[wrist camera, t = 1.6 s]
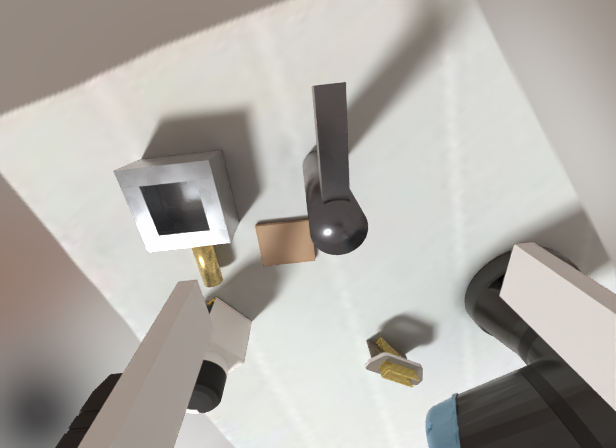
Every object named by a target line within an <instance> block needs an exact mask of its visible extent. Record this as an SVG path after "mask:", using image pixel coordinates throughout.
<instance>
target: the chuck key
mask: <svg viewBox="0 0 616 448" xmlns="http://www.w3.org/2000/svg"><path fill="white" fill-rule="evenodd" d="M312 94H313V106H314V118H315V130H316V142H317V151H313V152H311V153H309V154H308V155H307V156H306V158H305V159H304V162H303V174H304V183H305V193H306V202H307V212H308V221H309V230H310V237H311V240H312V242H313V243H314V245H315V246H316V247H317V248H318V249H319V250H321V251H323V252H325V253H327V254H332V255H342V254H346V253H349V252H351V251H353V250H355V249H356V248H358V247H359V246H360V245H361V244H362V243H363V241H364V240H365V238H366V235H367V232H368V222H367V219H366V216H365V215H364V213H363V211H362V209H361V208H360V206H359V204H358V203H357V201H356V199H355V197H354V196H353V194H352V192H351V190H350V189H349V161H348V132H347V102H346V82H343V83H334V84H325V85H316V86H312Z"/></svg>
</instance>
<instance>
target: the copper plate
mask: <svg viewBox="0 0 616 448" xmlns="http://www.w3.org/2000/svg"><path fill="white" fill-rule="evenodd" d="M255 228H256V233H257V238H258V242H259V247H260V252H261V256H262V261H263V266H271V265H280V264H289V263H298V262H307V261H315V252H314V243H313V242H312V240H311V237H310V230H309V221H308V219H301V220H292V221H283V222H274V223H265V224H256V226H255Z"/></svg>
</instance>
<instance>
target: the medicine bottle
mask: <svg viewBox="0 0 616 448" xmlns="http://www.w3.org/2000/svg"><path fill="white" fill-rule="evenodd" d="M206 306H207V309H208V312H209V314H210V317H211V320H212V323H213V325H214V330H213V333H212V336H211V339H210V342H209V344H208V347H207V350H206V353H205V356H204V359H203V362H202V365H201V368H200V371H199V374H198V377H197V380H196V383H195V386H194V389H193V392H192V395H191V398H190V401H189V404H188V407H187V410H186V412H187V413H193V414H199V413H206V412H209V411H211V410H213V409H214V408H215V407H217V406H218V405H219V403H220V402H221V399H222V394H223V390H224V386H225V382H226V378H227V375H228V374H229V373H230V372H232V371H233V370H234V369H236V368H237V367H239V366H240V365H241V364H243V363H244V361H245V356H246V350H247V345H248V340H249V334H250V329H251V324H252V322H251V321H250V320H249V319H247V318H246V317H245V316H243V315H242V314H240V313H239V312H237V311H236V310H234V309H233V308H231V307H230V306H229V305H227V304H226V303H224V302H223V301H221V300H220V299H218V298H217V297H215V298H213V299H212V300H211V301H210V302H209V303H207V304H206Z"/></svg>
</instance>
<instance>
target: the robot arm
mask: <svg viewBox="0 0 616 448" xmlns="http://www.w3.org/2000/svg"><path fill="white" fill-rule="evenodd" d="M465 307H466V310H467V312H468V314H469V315H470V317H471V318H472V319H473V321H474V322H475V323H476V324H477V325H478V327H480V328H481V329H482V330H483V331H484V332H486V333H488V334H489V335H492V336H494V337H495V338H496V339H498V340H499V341H500V342H502V343H503V344H504V345H506V346H507V347H508V348H510V349H511V350H512V351H514V352H515V353H517V354H518V355H519V356H520V358H521V359H522V360H523V361H524V362H525V363H526V364H527V366H525V367H523V368H520V369H518V370H515V371H513V372H511V373H508V374H506V375H503V376H501V377H499V378H496V379H494V380H491V381H489V382H487V383H484V384H482V385H480V386H477V387H475V388H472V389H470V390H468V391H465V392H463V393H460V394H458V393H455V394H453V395H452V397H451V398H449V399H447V400H445V401H443V402H441V403H439V404H437V405H435V406H433V407H432V408H431V409H430V410H429V411H428V413H427V416H426V435H427V441H428V446H429V448H616V294H615V293H613V292H611V291H610V290H608V289H607V288H605V287H604V286H602V285H600V284H599V283H597V282H596V281H594V280H592V279H591V278H589V277H588V276H586V275H584V274H583V273H581V271H580V270H579V269H578V267H577V266H576V265H575V264H574V263H573V262H572V261H570V260H569V259H567V258H566V257H564V256H562V255H561V254H559V253H557V252H556V251H554V250H551V249H548V248H543V247H540V246H538V245H537V244H535V243H534V242H528V243H519V244H514V247H513V250H512V251H511V252H509V253H506V254H504V255H502V256H500V257H498V258H496V259H495V260H493V261H492V262H490V263H489V264H487V265H486V266H485V267H484V268H483V269H482V270H481V271H480V272H479V273H478V274H477V275H476V276H475V277H474V279H473V280H472V281H471V283H470V285H469V287H468V289H467V292H466V295H465ZM213 330H214V325H213V323H212V320H211V317H210V314H209V312H208V309H207V306H206V303H205V301H204V298H203V295H202V292H201V290H200V287H199V284H198V281H197V280H190V281H181V282H178V283H177V285H176V287H175V288H174V290H173V292H172V293H171V295H170V296H169V298H168V300H167V301H166V303H165V305H164V306H163V308H162V310H161V311H160V313H159V315H158V316H157V318H156V320H155V321H154V323H153V324H152V326H151V328H150V329H149V331H148V333H147V334H146V336H145V338H144V339H143V341H142V343H141V344H140V346H139V348H138V349H137V351H136V352H135V354H134V356H133V357H132V359H131V361H130V362H129V364H128V366H127V367H126V369H125V371H124V372H123V373H118V374H111V375H109V376H108V377H107V379H105V381H103V382H102V383H101V384H100V385H99V386H98V387H97V388H96V389H95V390H94V391H93V392H92V394H91V395H90V397H89V398H88V400H87V401H86V403H85V404H84V406H83V407H82V409H81V410H80V414H79V416H76V418H75V419H74V421H73V422H72V424H71V425H70V427H69V428H68V432H67V433H66V434H64V436H63V437H62V439H61V440H60V442H59V443H58V445H57V446H56V448H174V445H175V442H176V439H177V436H178V433H179V430H180V427H181V424H182V421H183V418H184V416H185V413H186V410H187V407H188V404H189V401H190V398H191V395H192V392H193V389H194V386H195V383H196V380H197V377H198V374H199V371H200V368H201V365H202V362H203V359H204V356H205V353H206V350H207V347H208V344H209V342H210V339H211V336H212V333H213Z"/></svg>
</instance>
